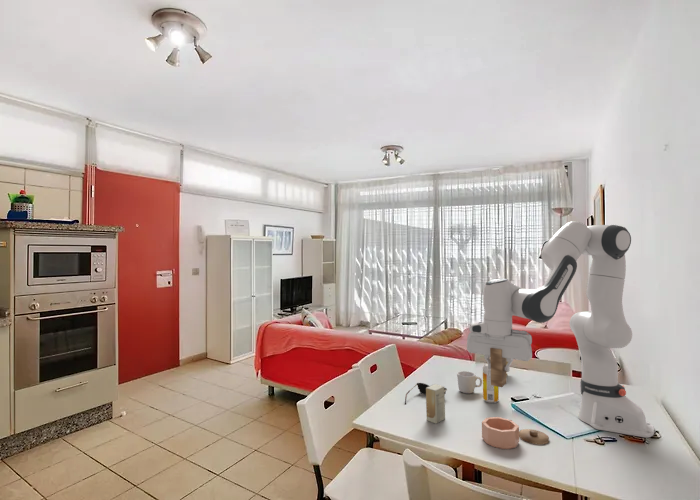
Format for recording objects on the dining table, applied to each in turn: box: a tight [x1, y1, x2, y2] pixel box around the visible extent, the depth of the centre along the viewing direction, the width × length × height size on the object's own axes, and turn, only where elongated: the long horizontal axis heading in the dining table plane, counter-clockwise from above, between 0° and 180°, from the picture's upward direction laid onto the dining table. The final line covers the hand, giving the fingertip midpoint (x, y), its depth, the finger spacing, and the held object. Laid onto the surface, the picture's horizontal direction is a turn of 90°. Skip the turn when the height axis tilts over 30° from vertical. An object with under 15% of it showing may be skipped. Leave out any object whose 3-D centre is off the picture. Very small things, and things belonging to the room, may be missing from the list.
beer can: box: [482, 363, 500, 404], centre depth 158 cm, size 6×6×15 cm
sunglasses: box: [404, 382, 448, 405], centre depth 159 cm, size 14×16×5 cm
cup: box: [456, 370, 483, 394], centre depth 169 cm, size 11×8×8 cm
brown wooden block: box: [490, 348, 508, 388], centre depth 124 cm, size 4×5×12 cm
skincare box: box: [425, 383, 446, 425], centre depth 140 cm, size 6×4×12 cm
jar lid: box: [519, 428, 550, 445], centre depth 126 cm, size 9×9×2 cm
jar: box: [481, 416, 520, 450], centre depth 124 cm, size 11×11×6 cm
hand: (498, 370), depth 125 cm, fingers closed on brown wooden block, 3 cm apart
